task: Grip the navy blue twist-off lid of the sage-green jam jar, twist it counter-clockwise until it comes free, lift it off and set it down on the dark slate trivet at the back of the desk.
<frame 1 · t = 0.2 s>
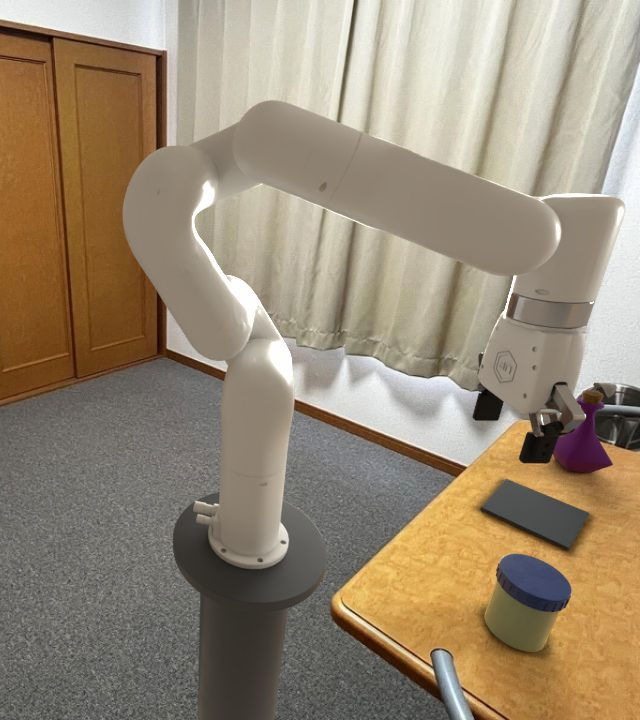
hand: (507, 439, 60), 22 cm above the table, tool pointing down, fingers open, 9 cm apart
perfume bottle: (572, 466, 91), on the table
trivet: (533, 512, 80), on the table
jar: (513, 628, 60), on the table
lid: (533, 578, 57), point 9 cm above the table, screwed on, not yet turned
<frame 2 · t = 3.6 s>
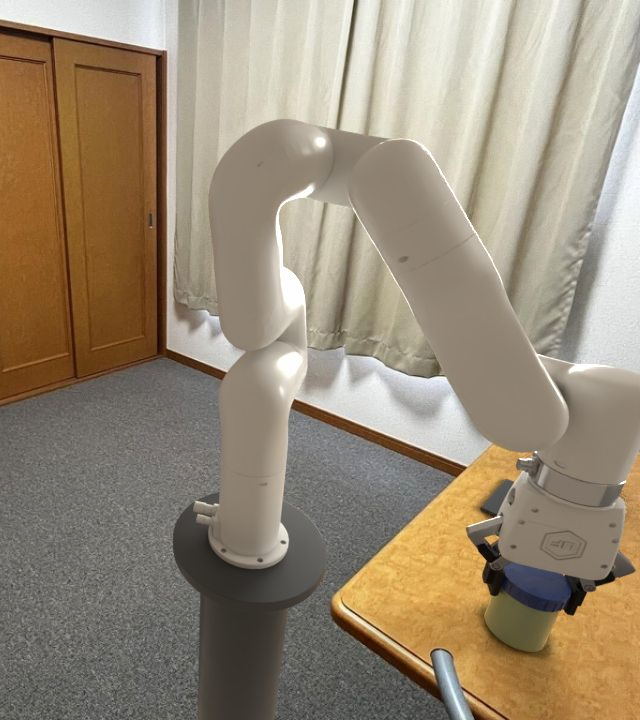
hand: (527, 595, 58), 6 cm above the table, tool pointing down, fingers closed on lid, 7 cm apart
lid: (533, 578, 57), point 9 cm above the table, screwed on, not yet turned, touching gripper
everything else where it was.
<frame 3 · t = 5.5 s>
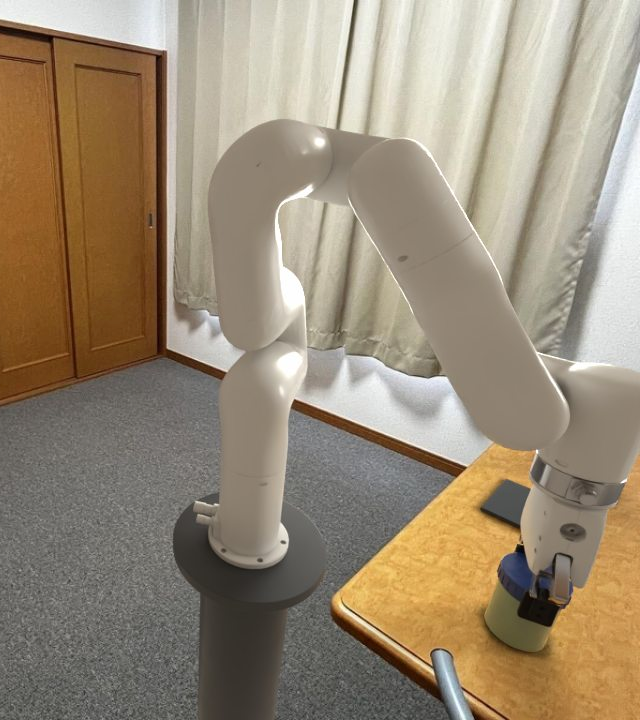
hand: (528, 594, 58), 6 cm above the table, tool pointing down, fingers closed on lid, 7 cm apart
lid: (535, 576, 57), point 9 cm above the table, turned 82° so far, risen 0.2 cm, still on its thread, touching gripper
everything else where it was.
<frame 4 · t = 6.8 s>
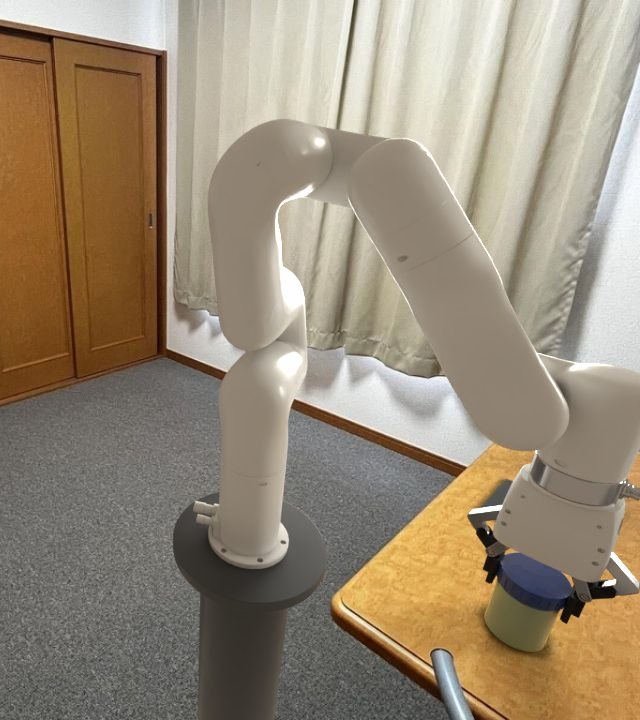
hand: (527, 594, 58), 6 cm above the table, tool pointing down, fingers closed on lid, 7 cm apart
lid: (534, 576, 57), point 9 cm above the table, off its thread, touching gripper
everything else where it was.
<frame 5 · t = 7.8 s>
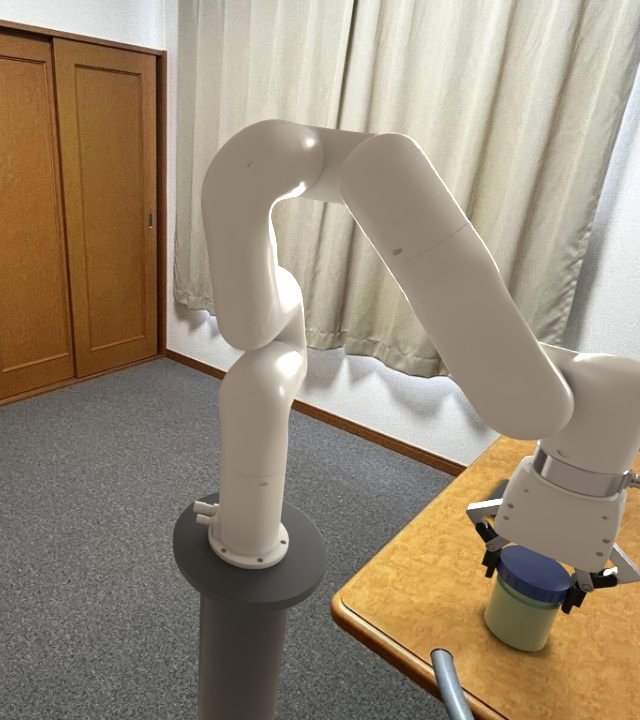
hand: (526, 586, 58), 7 cm above the table, tool pointing down, fingers closed on lid, 7 cm apart
jar: (513, 627, 60), on the table, touching gripper
lid: (533, 569, 57), point 10 cm above the table, off its thread, touching gripper
everything else where it was.
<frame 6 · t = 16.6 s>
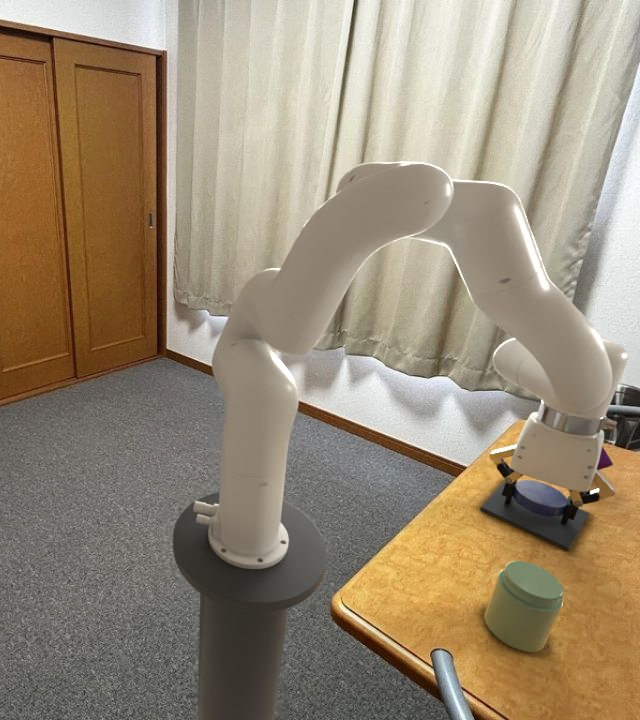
hand: (534, 509, 79), 1 cm above the table, tool pointing down, fingers closed on lid, 7 cm apart
jar: (513, 628, 60), on the table
lid: (540, 495, 78), point 4 cm above the table, off its thread, touching gripper
everything else where it was.
when the fingers open (2 cm above the table, at t = 29.0 s): lid drops 3 cm, resting on trivet.
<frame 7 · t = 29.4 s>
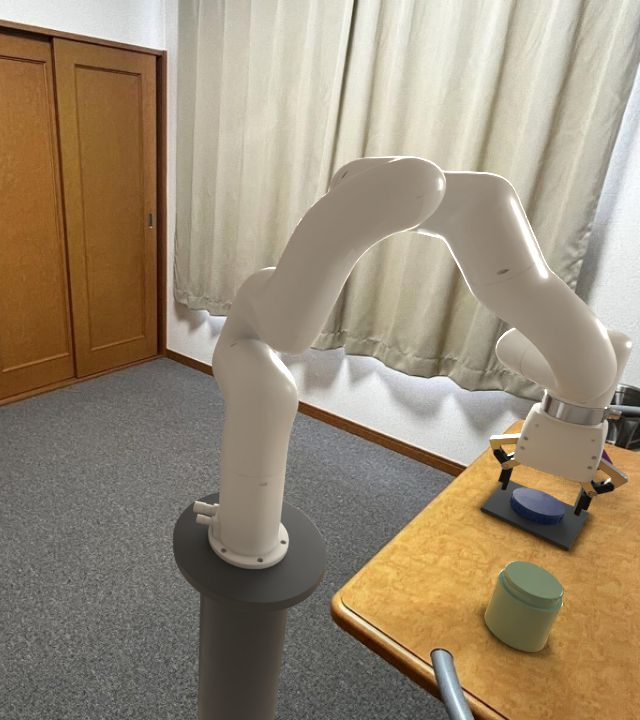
hand: (539, 498, 78), 3 cm above the table, tool pointing down, fingers open, 9 cm apart
lid: (537, 503, 79), point 2 cm above the table, off its thread, touching trivet
everything else where it was.
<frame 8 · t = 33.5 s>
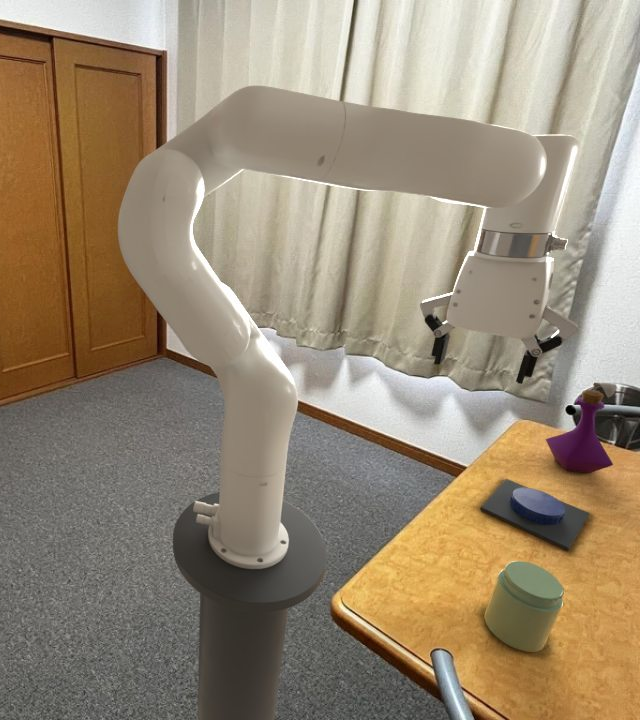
hand: (477, 370, 65), 28 cm above the table, tool pointing down, fingers open, 9 cm apart
nothing on the table moved.
at the end: lid came off its thread; lid inside the target area on the trivet (0.1 cm from its centre), point 2.1 cm above the trivet's base; the gripper is holding nothing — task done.
